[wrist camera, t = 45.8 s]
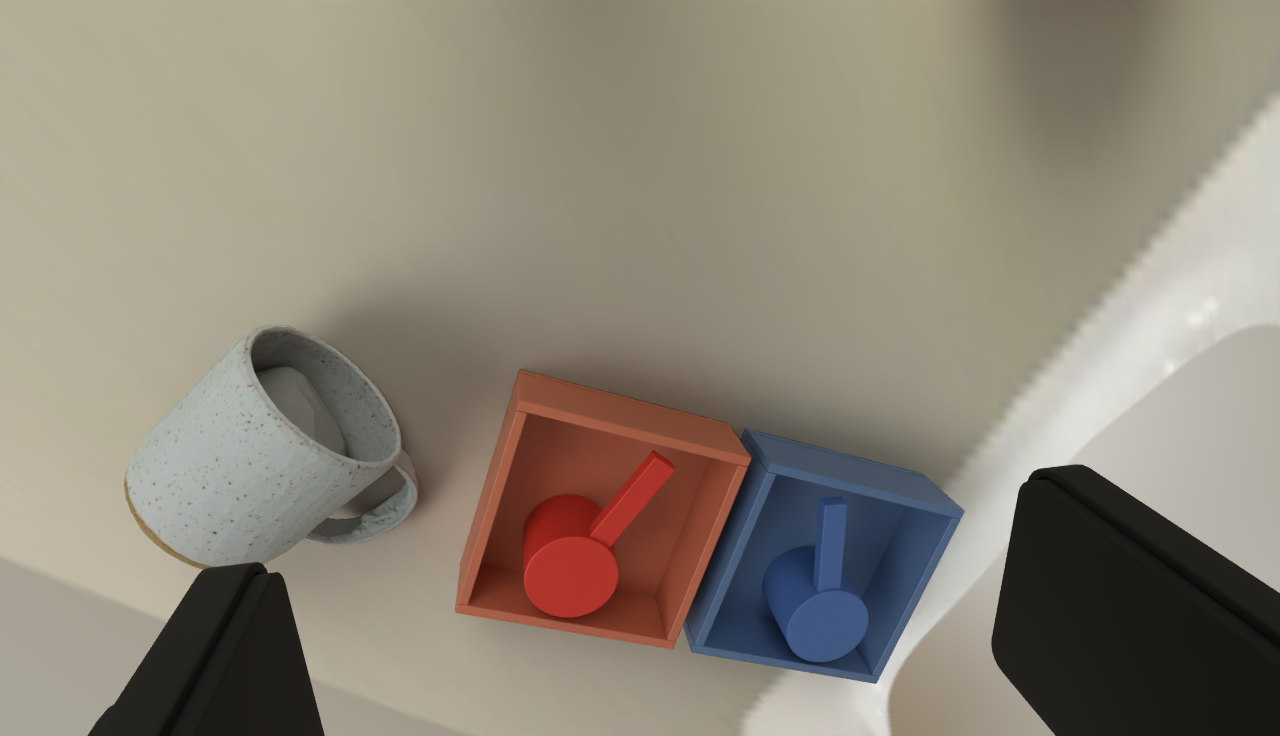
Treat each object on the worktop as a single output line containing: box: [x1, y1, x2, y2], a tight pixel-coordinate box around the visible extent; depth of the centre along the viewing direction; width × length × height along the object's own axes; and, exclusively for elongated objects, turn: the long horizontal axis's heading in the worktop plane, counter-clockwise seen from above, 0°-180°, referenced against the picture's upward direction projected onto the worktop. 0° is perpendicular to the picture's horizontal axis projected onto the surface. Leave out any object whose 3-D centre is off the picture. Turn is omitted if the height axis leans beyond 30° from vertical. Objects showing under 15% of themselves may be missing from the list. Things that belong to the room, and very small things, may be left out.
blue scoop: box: [762, 497, 869, 662], centre depth 38 cm, size 9×4×4 cm, turn 1°
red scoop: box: [523, 450, 675, 617], centre depth 35 cm, size 9×4×4 cm, turn 141°
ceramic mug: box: [124, 325, 418, 569], centre depth 30 cm, size 11×8×8 cm
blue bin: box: [683, 429, 965, 684], centre depth 38 cm, size 11×11×4 cm
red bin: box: [455, 370, 751, 649], centre depth 35 cm, size 11×11×4 cm
